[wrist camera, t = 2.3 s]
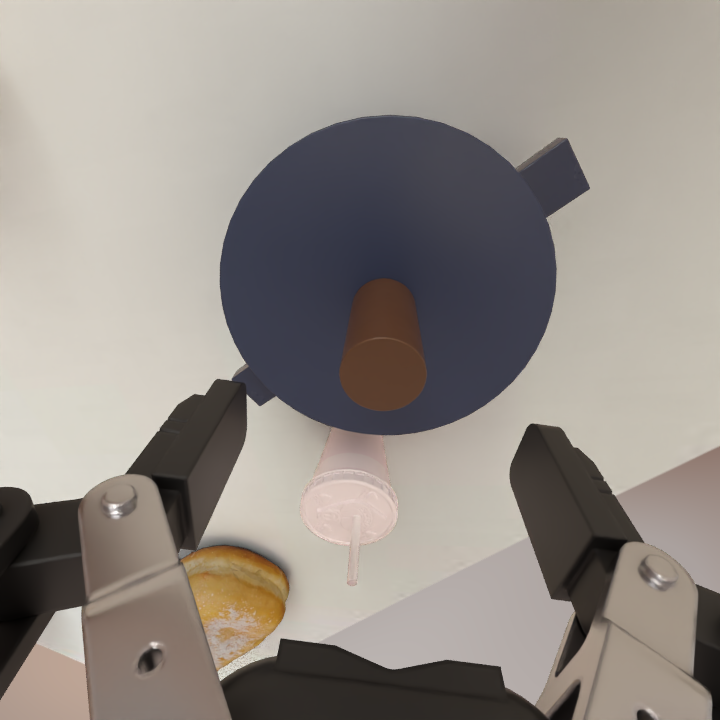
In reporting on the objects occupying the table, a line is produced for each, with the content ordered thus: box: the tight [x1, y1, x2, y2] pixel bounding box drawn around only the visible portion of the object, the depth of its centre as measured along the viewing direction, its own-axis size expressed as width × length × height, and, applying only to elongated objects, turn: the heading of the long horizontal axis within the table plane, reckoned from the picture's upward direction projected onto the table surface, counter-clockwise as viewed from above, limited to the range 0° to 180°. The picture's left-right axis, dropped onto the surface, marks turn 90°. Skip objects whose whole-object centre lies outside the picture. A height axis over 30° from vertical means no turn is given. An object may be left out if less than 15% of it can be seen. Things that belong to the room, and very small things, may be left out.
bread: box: [180, 545, 289, 671], centre depth 45 cm, size 13×26×8 cm, turn 139°
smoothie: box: [300, 427, 398, 586], centre depth 28 cm, size 6×6×14 cm
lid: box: [220, 115, 557, 435], centre depth 17 cm, size 16×16×7 cm
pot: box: [232, 138, 590, 406], centre depth 23 cm, size 15×20×8 cm
